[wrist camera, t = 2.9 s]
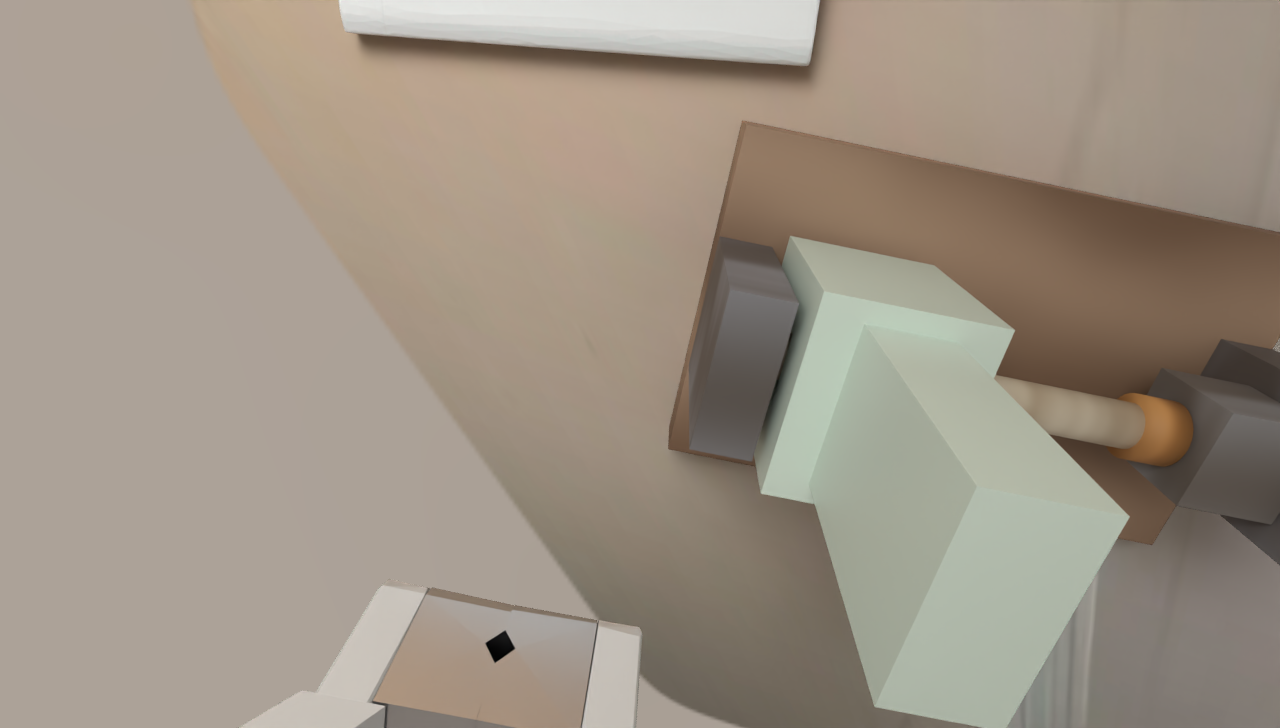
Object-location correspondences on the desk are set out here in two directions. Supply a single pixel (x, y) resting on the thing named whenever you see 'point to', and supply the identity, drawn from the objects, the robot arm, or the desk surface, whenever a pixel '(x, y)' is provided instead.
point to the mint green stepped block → (928, 484)
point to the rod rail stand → (1019, 317)
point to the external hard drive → (605, 25)
